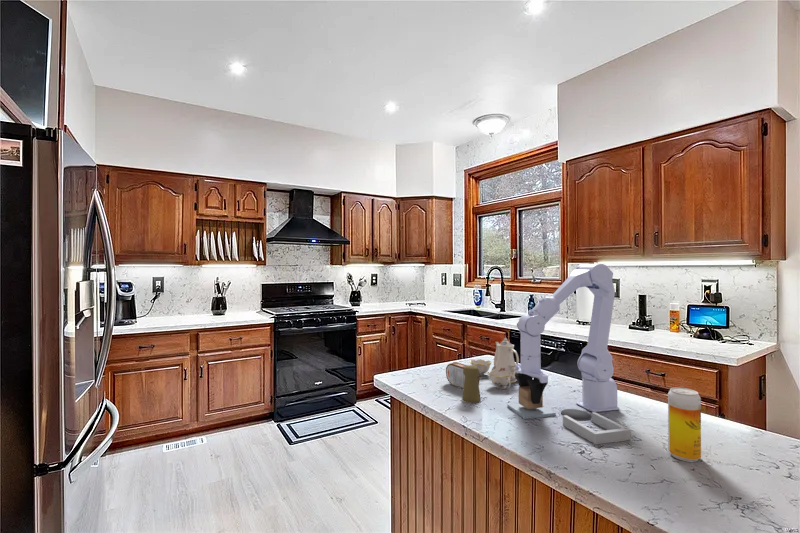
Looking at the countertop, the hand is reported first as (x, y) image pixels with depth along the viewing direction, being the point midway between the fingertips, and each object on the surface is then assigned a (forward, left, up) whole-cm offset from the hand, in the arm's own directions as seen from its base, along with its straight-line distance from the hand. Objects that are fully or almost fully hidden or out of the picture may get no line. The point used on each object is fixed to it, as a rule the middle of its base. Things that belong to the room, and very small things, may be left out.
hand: (530, 400), depth 119 cm
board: (0, 0, -3) cm, 3 cm away
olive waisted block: (+13, -14, -3) cm, 19 cm away
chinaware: (-6, -32, -4) cm, 33 cm away
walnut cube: (0, 0, -2) cm, 2 cm away
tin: (+11, -27, -4) cm, 29 cm away
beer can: (-18, +34, -3) cm, 39 cm away
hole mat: (-11, +6, -3) cm, 13 cm away
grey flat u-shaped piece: (-8, +17, -3) cm, 19 cm away
